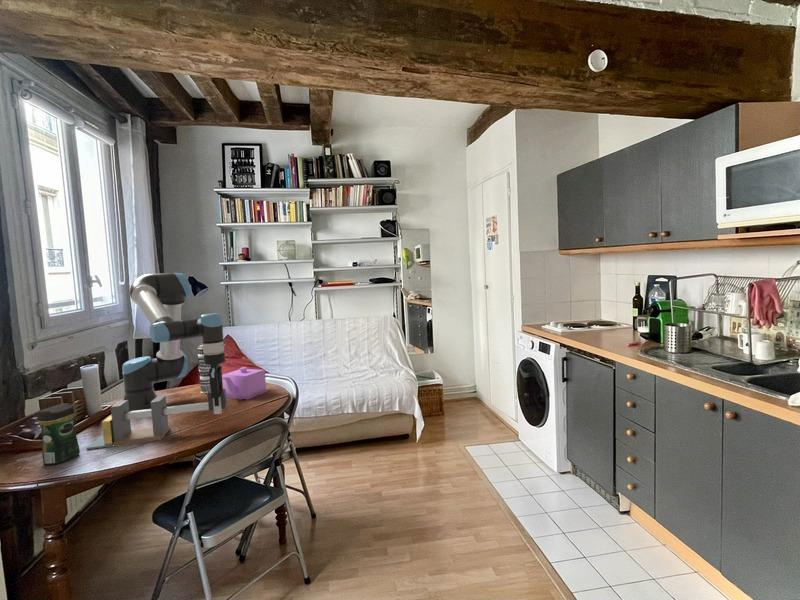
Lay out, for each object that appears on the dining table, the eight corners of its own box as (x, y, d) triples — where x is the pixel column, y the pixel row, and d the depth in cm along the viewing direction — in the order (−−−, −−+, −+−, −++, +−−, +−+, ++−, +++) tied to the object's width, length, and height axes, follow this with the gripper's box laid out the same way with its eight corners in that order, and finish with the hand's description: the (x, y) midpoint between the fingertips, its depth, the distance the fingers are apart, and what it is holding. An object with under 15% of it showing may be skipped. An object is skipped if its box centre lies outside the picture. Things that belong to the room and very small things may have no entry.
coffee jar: (66, 452, 149) (61, 401, 148) (84, 453, 147) (78, 401, 146) (37, 465, 140) (31, 410, 139) (55, 466, 138) (49, 410, 137)
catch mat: (101, 437, 162) (101, 435, 162) (125, 434, 164) (125, 432, 164) (86, 450, 151) (86, 448, 151) (112, 446, 153) (112, 444, 153)
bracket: (124, 434, 164) (121, 399, 163) (170, 428, 168) (167, 394, 167) (112, 446, 153) (108, 408, 152) (161, 439, 157) (157, 402, 156)
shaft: (125, 418, 160) (123, 400, 160) (226, 405, 169) (225, 388, 169) (121, 421, 157) (119, 403, 156) (225, 408, 165) (223, 391, 165)
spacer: (115, 434, 163) (113, 412, 162) (123, 433, 163) (120, 412, 163) (104, 444, 153) (101, 421, 152) (112, 443, 153) (109, 420, 153)
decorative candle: (207, 394, 216) (202, 346, 215) (196, 393, 221) (191, 345, 219) (222, 390, 224) (218, 343, 223) (211, 388, 229) (207, 342, 227)
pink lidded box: (212, 402, 203) (210, 373, 202) (250, 388, 225) (248, 362, 224) (236, 404, 196) (234, 375, 196) (272, 389, 219) (270, 363, 218)
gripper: (220, 356, 158) (225, 417, 159) (227, 348, 174) (232, 404, 176) (199, 358, 156) (204, 420, 158) (207, 350, 173) (212, 406, 174)
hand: (218, 411), depth 167 cm, fingers closed on shaft, 4 cm apart
